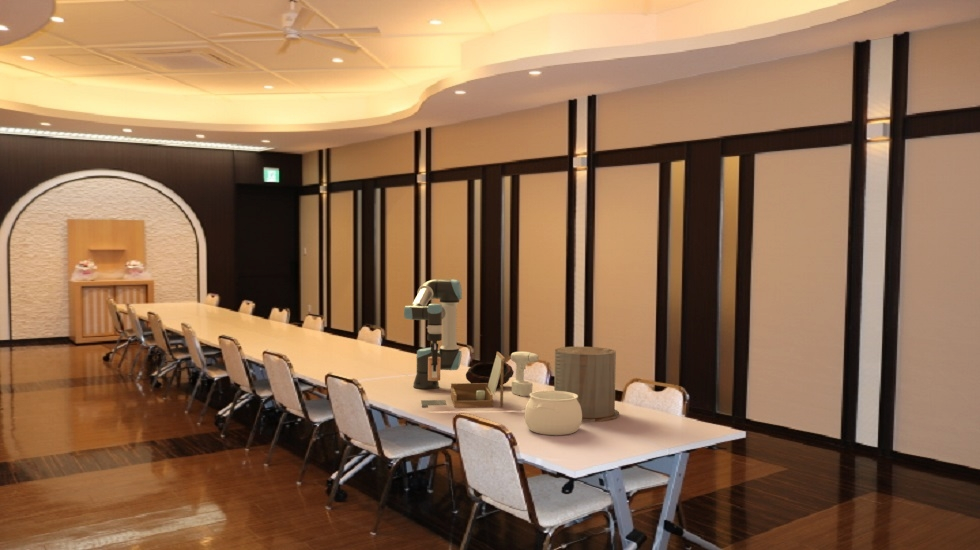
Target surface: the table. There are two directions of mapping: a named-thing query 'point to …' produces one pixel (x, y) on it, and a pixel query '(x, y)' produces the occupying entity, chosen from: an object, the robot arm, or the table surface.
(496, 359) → the lid
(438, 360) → the terracotta pot
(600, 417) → the storage basket
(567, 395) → the pot
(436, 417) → the table surface
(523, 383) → the power drill
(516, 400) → the table surface
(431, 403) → the slate tile
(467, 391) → the cold frame
